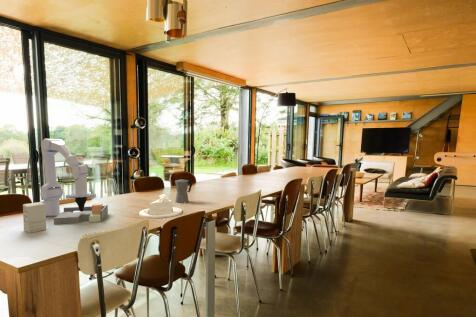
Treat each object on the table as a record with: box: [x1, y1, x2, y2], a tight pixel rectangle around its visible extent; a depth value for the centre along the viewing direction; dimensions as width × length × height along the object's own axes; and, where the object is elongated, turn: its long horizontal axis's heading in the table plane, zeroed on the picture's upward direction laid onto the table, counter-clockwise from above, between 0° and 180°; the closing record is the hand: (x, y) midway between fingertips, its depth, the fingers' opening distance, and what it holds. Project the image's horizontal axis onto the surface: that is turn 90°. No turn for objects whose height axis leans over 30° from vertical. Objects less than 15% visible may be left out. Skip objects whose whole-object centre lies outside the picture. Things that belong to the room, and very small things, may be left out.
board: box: [53, 204, 109, 225], centre depth 157 cm, size 23×16×6 cm
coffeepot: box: [174, 176, 193, 204], centre depth 203 cm, size 15×9×18 cm, turn 62°
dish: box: [138, 193, 183, 219], centre depth 171 cm, size 25×25×11 cm
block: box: [91, 203, 103, 214], centre depth 159 cm, size 4×4×4 cm
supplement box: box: [22, 201, 47, 234], centre depth 137 cm, size 7×7×13 cm
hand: (81, 211), depth 157 cm, fingers closed
